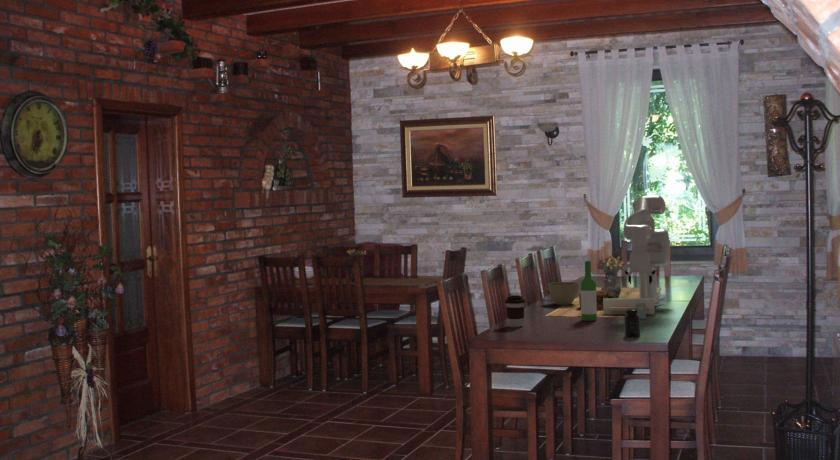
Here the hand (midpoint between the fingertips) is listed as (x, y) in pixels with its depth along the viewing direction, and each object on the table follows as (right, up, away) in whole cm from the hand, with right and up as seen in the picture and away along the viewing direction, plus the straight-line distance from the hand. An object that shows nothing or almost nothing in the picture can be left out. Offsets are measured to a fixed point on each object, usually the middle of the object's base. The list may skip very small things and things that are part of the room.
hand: (640, 283), depth 427 cm
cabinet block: (+1, -17, +1) cm, 18 cm away
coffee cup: (-65, -20, -13) cm, 69 cm away
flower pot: (-29, -16, +60) cm, 68 cm away
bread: (-14, -17, +40) cm, 46 cm away
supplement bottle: (-17, -20, -50) cm, 56 cm away
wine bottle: (-26, -19, -2) cm, 32 cm away
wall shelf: (-2, -17, +14) cm, 22 cm away
